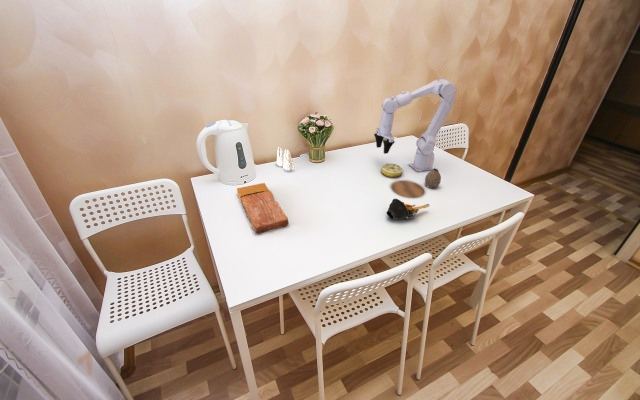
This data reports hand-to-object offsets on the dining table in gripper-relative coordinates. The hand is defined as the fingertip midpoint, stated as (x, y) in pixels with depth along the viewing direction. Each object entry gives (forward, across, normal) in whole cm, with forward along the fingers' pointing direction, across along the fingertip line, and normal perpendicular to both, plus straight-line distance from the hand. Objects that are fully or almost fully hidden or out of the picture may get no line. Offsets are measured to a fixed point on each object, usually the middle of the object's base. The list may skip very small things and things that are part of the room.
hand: (382, 150), depth 148 cm
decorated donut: (+10, +8, +2) cm, 13 cm away
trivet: (+10, +24, +2) cm, 26 cm away
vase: (+10, +24, +15) cm, 30 cm away
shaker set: (+10, -11, -48) cm, 51 cm away
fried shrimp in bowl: (+10, +42, -10) cm, 44 cm away
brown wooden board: (+10, +22, -66) cm, 70 cm away
